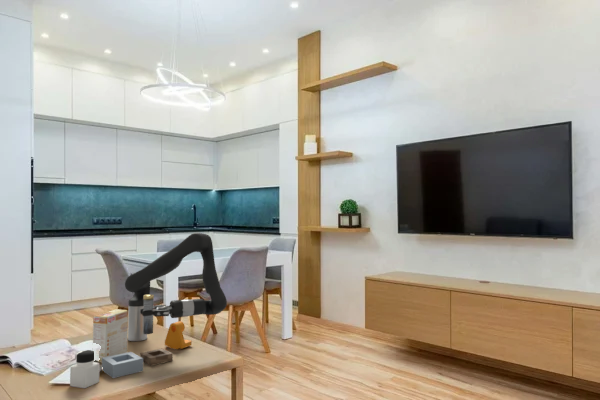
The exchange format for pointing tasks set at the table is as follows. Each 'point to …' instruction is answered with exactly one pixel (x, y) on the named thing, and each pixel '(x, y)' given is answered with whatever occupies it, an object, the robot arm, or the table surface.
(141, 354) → the socket block
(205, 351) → the table surface
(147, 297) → the silver metal cylinder
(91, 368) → the medicine bottle
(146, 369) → the table surface
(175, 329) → the bracket
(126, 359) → the block
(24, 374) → the table surface
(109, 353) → the coffeecake box
